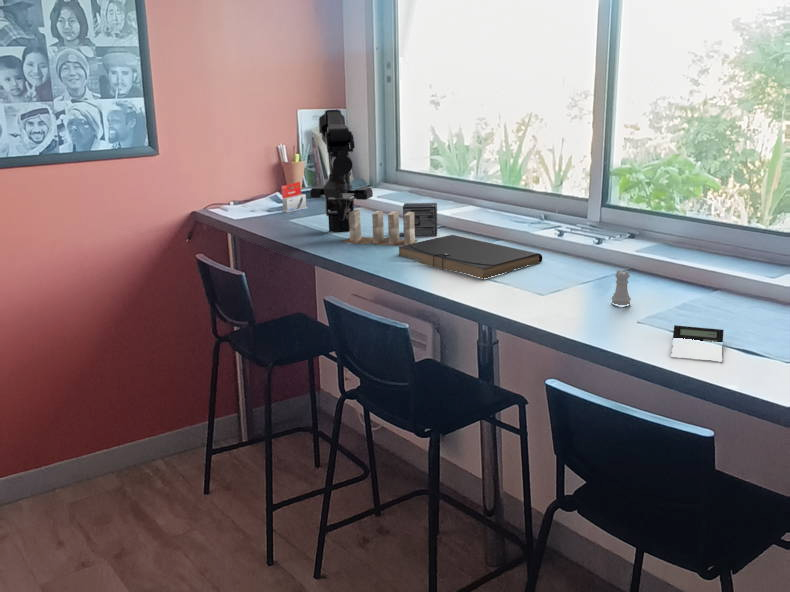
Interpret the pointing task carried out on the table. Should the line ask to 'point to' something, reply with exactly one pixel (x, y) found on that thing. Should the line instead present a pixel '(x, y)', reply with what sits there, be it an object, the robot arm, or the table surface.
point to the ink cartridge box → (293, 197)
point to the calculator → (698, 333)
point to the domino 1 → (355, 225)
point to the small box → (423, 218)
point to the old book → (469, 255)
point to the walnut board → (370, 241)
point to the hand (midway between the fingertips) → (342, 220)
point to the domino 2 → (378, 226)
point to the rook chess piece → (621, 289)
